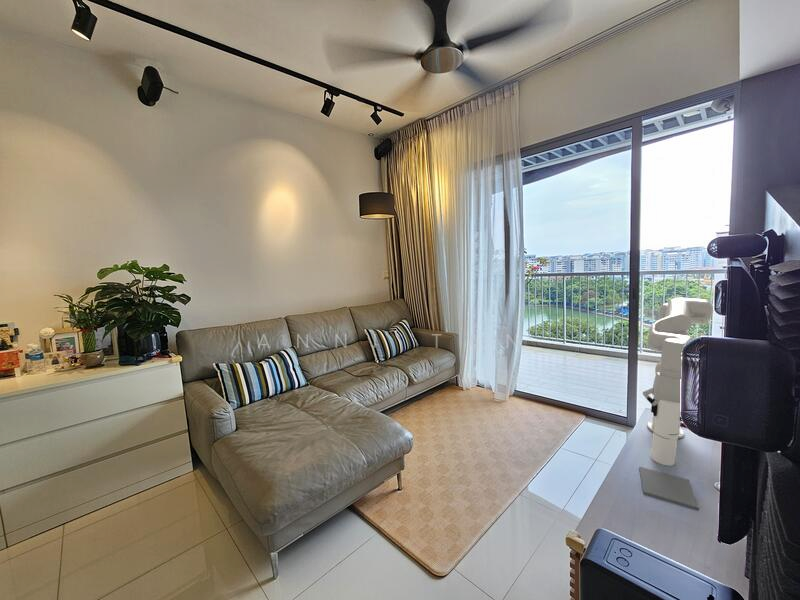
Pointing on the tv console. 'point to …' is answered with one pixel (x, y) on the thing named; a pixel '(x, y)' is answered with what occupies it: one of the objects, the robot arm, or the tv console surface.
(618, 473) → the tv console surface
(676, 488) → the rubber mat
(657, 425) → the cylindrical container
